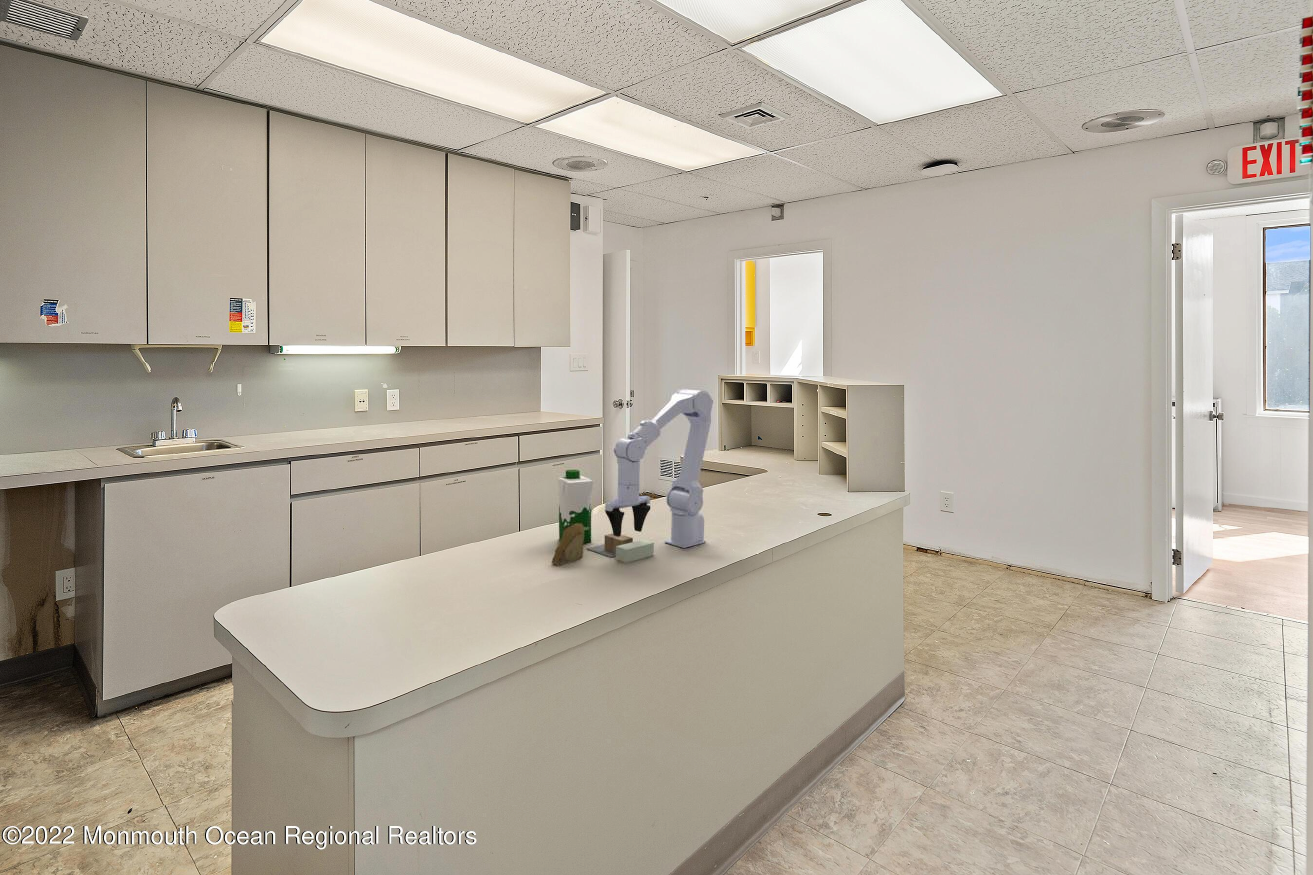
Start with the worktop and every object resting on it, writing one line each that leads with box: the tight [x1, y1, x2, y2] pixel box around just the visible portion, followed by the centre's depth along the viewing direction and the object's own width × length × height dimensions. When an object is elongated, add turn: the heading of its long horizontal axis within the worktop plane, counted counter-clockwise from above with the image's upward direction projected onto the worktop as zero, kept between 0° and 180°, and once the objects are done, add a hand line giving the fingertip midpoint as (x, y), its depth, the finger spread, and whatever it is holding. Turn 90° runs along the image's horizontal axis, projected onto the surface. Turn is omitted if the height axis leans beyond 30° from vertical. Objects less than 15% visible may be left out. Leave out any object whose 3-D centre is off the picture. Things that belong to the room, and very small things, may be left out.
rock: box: [550, 523, 584, 566], centre depth 178 cm, size 11×9×10 cm
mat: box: [586, 543, 616, 558], centre depth 189 cm, size 11×10×1 cm
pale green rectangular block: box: [615, 539, 655, 564], centre depth 182 cm, size 10×4×4 cm, turn 135°
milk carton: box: [557, 469, 594, 544], centre depth 196 cm, size 9×9×20 cm
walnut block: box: [603, 532, 634, 553], centre depth 187 cm, size 4×4×7 cm
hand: (627, 533), depth 184 cm, fingers open, 7 cm apart
